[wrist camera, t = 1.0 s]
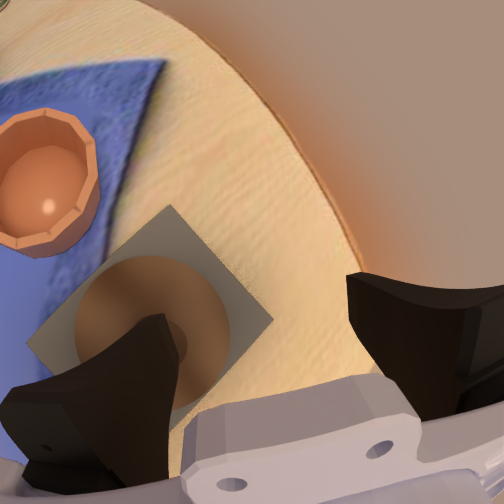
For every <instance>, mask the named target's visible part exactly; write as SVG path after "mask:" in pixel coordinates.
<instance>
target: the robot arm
mask: <svg viewBox="0 0 504 504" xmlns="http://www.w3.org/2000/svg"><path fill="white" fill-rule="evenodd" d="M346 282H347V296H348V313H349V322H350V324H351V326H352V328H353V330H354V332H355V334H356V335H357V337H358V339H359V340H360V342H361V343H362V345H363V346H364V347H365V349H366V350H367V352H368V353H369V354H370V356H371V357H372V358H373V360H374V361H375V362H376V364H377V365H378V367H379V368H380V369H381V371H382V372H383V374H384V375H385V376H383V375H381V374H379V373H372V374H362V375H351V376H348V377H345V378H341V379H338V380H334V381H330V382H327V383H323V384H319V385H315V386H311V387H307V388H303V389H299V390H295V391H290V392H286V393H281V394H276V395H272V396H267V397H262V398H256V399H251V400H245V401H240V402H234V403H227V404H223V405H220V406H217V407H215V408H212V409H209V410H206V411H203V412H200V413H198V414H197V415H196V416H195V417H194V418H193V419H192V421H191V422H190V423H189V424H188V425H187V426H186V427H185V429H184V439H183V449H182V460H181V471H180V476H178V477H174V478H170V479H169V470H168V442H169V424H170V417H171V412H172V406H173V401H174V396H175V391H176V386H177V380H178V373H179V354H178V351H177V348H176V346H175V343H174V340H173V337H172V334H171V331H170V328H169V326H168V323H167V320H166V317H165V314H164V313H160V314H154V315H149V316H148V317H146V318H144V319H143V320H142V321H140V322H139V323H138V324H137V325H135V326H134V327H133V328H132V329H130V330H129V331H128V332H127V333H126V334H124V335H123V336H122V337H121V338H119V339H118V340H117V341H115V342H114V343H113V344H111V345H110V346H109V347H107V348H106V349H105V350H103V351H102V352H100V353H99V354H97V355H96V356H94V357H92V358H91V359H89V360H87V361H86V362H84V363H82V364H80V365H78V366H76V367H74V368H72V369H70V370H68V371H66V372H63V373H61V374H58V375H56V376H53V377H50V378H48V379H45V380H42V381H38V382H35V383H31V384H26V385H22V386H18V387H14V388H12V389H11V390H10V392H9V393H8V394H7V396H6V397H5V398H4V400H3V401H2V403H1V404H0V421H1V424H2V426H3V428H4V429H5V431H6V432H7V434H8V435H9V436H10V438H11V439H12V440H13V441H14V443H15V444H16V445H17V446H18V448H19V449H20V450H21V451H22V452H23V453H24V455H25V456H26V457H27V458H28V459H29V461H28V463H27V465H26V466H24V465H22V464H21V463H19V462H17V461H12V460H9V459H5V458H1V457H0V504H494V503H493V501H492V499H493V498H494V497H496V496H497V495H498V494H500V493H501V492H502V491H503V490H504V285H500V286H495V287H489V288H477V289H443V288H433V287H426V286H419V285H415V284H409V283H405V282H401V281H397V280H393V279H389V278H385V277H381V276H378V275H374V274H370V273H365V272H358V273H354V274H350V275H346Z"/></svg>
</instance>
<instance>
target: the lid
mask: <svg viewBox="0 0 504 504" xmlns="http://www.w3.org/2000/svg"><path fill="white" fill-rule="evenodd" d="M160 313H164V314H165V317H166V320H167V323H168V326H169V328H170V331H171V334H172V337H173V340H174V343H175V346H176V348H177V351H178V354H179V373H178V380H177V386H176V391H175V396H174V401H173V406H172V410H176V409H179V408H182V407H184V406H187V405H189V404H191V403H192V402H194V401H196V400H197V399H199V398H200V397H201V396H203V395H204V394H205V393H206V392H207V391H208V390H209V389H210V388H211V387H212V386H213V384H214V383H215V382H216V380H217V379H218V377H219V376H220V374H221V372H222V370H223V368H224V366H225V363H226V360H227V357H228V352H229V347H230V326H229V321H228V316H227V313H226V310H225V307H224V305H223V303H222V301H221V299H220V297H219V295H218V294H217V292H216V290H215V289H214V288H213V287H212V285H211V284H210V283H209V282H208V281H207V280H206V279H205V278H204V277H203V276H202V275H201V274H200V273H198V272H197V271H196V270H194V269H193V268H191V267H189V266H187V265H186V264H184V263H181V262H179V261H176V260H173V259H170V258H166V257H159V256H141V257H134V258H130V259H127V260H124V261H121V262H119V263H117V264H115V265H113V266H111V267H110V268H108V269H106V270H105V271H104V272H103V273H101V274H100V275H99V276H98V277H97V278H96V279H95V280H94V281H93V282H92V283H91V285H90V286H89V288H88V289H87V291H86V292H85V294H84V296H83V298H82V300H81V302H80V304H79V307H78V311H77V314H76V320H75V333H74V334H75V345H76V349H77V353H78V357H79V359H80V362H81V364H82V363H84V362H86V361H87V360H89V359H91V358H92V357H94V356H96V355H97V354H99V353H100V352H102V351H103V350H105V349H106V348H107V347H109V346H110V345H111V344H113V343H114V342H115V341H117V340H118V339H119V338H121V337H122V336H123V335H124V334H126V333H127V332H128V331H129V330H130V329H132V328H133V327H134V326H135V325H137V324H138V323H139V322H140V321H142V320H143V319H144V318H146V317H148V316H149V315H154V314H160Z"/></svg>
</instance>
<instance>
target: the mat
mask: <svg viewBox="0 0 504 504" xmlns="http://www.w3.org/2000/svg"><path fill="white" fill-rule="evenodd" d="M141 256H159V257H166V258H170V259H173V260H176V261H179V262H181V263H184V264H186V265H187V266H189V267H191V268H193V269H194V270H196V271H197V272H198V273H200V274H201V275H202V276H203V277H204V278H205V279H206V280H207V281H208V282H209V283H210V284H211V285H212V287H213V288H214V289H215V290H216V292H217V294H218V295H219V297H220V299H221V301H222V303H223V305H224V307H225V310H226V313H227V316H228V321H229V326H230V347H229V352H228V357H227V360H226V363H225V366H224V368H223V370H222V372H221V374H220V376H219V377H218V379H217V380H216V382H215V383H214V384H213V386H212V387H211V388H210V389H209V390H208V391H207V392H206V393H205V394H204V395H203V396H201V397H200V398H199V399H197V400H196V401H194V402H192V403H191V404H189V405H187V406H184V407H182V408H179V409H176V410H172V412H171V417H170V424H169V432H170V431H171V430H172V429H173V428H174V427H175V426H176V425H177V424H178V423H179V422H180V421H181V420H182V419H183V418H184V417H185V416H186V415H187V414H188V413H189V412H190V411H191V410H192V409H193V408H194V407H195V406H196V404H197V403H198V402H199V401H200V400H201V399H202V398H203V397H204V396H205V395H206V394H207V393H208V392H209V391H210V390H211V389H212V388H213V387H214V386H215V384H216V383H217V382H218V381H219V380H220V379H221V378H222V377H223V376H224V375H225V374H226V373H227V371H228V370H229V369H230V368H231V367H232V366H233V365H234V364H235V363H236V362H237V361H238V359H239V358H240V357H241V356H242V355H243V354H244V353H245V352H246V351H247V349H248V348H249V347H250V346H251V345H252V344H253V343H254V342H255V340H256V339H257V338H258V337H259V336H260V335H261V334H262V332H263V331H264V330H265V329H266V328H267V327H268V326H269V324H270V323H271V322H272V321H273V320H274V319H273V318H272V317H271V316H270V315H269V314H268V312H267V311H266V310H265V309H264V308H263V307H262V306H261V305H260V304H259V303H258V302H257V301H256V299H255V298H254V297H253V296H252V295H251V294H250V293H249V292H248V291H247V290H246V289H245V287H244V286H243V285H242V284H241V283H240V282H239V281H238V280H237V279H236V278H235V276H234V275H233V274H232V273H231V272H230V271H229V270H228V269H227V268H226V267H225V265H224V264H223V263H222V262H221V261H220V260H219V259H218V258H217V257H216V255H215V254H214V253H213V252H212V251H211V250H210V249H209V248H208V247H207V245H206V244H205V243H204V242H203V241H202V240H201V239H200V238H199V236H198V235H197V234H196V233H195V232H194V231H193V230H192V228H191V227H190V226H189V225H188V224H187V223H186V222H185V221H184V219H183V218H182V217H181V216H180V215H179V214H178V213H177V211H176V210H175V209H174V208H173V207H172V206H171V205H169V206H167V207H166V208H165V209H164V210H163V211H161V212H160V213H159V214H158V215H157V216H156V217H154V218H153V219H152V220H151V221H150V222H149V223H147V224H146V225H145V226H144V227H143V228H142V229H141V230H139V231H138V232H137V233H136V234H135V235H134V236H133V237H131V238H130V239H129V240H128V241H127V242H126V243H125V244H124V245H123V246H122V247H120V248H119V249H118V250H117V251H116V252H115V253H114V254H113V255H112V256H111V257H110V258H108V259H107V260H106V261H105V262H104V263H103V264H102V265H101V266H100V267H99V268H98V269H97V270H96V271H95V272H94V273H93V274H92V275H91V276H90V277H89V278H87V279H86V280H85V281H84V282H83V283H82V284H81V285H80V286H79V287H78V288H77V289H76V290H75V291H74V292H73V293H72V294H71V295H70V296H69V297H68V298H67V299H66V300H65V301H64V302H63V303H62V305H61V306H60V307H59V308H58V309H57V310H56V311H55V312H54V313H53V314H52V315H51V316H50V317H49V318H48V319H47V320H46V321H45V322H44V323H43V325H42V326H41V327H40V328H39V329H38V330H37V331H36V332H35V333H34V334H33V335H32V337H31V338H30V339H29V340H28V341H27V342H26V344H27V346H28V347H29V348H30V349H31V350H32V351H33V353H34V354H35V355H36V356H37V357H38V358H39V359H40V360H41V362H42V363H43V364H44V365H45V366H46V367H47V368H48V369H49V370H50V371H51V372H52V373H53V374H54V376H56V375H58V374H61V373H63V372H66V371H68V370H70V369H72V368H74V367H76V366H78V365H80V364H81V362H80V359H79V357H78V353H77V349H76V345H75V334H74V333H75V320H76V314H77V311H78V307H79V304H80V302H81V300H82V298H83V296H84V294H85V292H86V291H87V289H88V288H89V286H90V285H91V283H92V282H93V281H94V280H95V279H96V278H97V277H98V276H99V275H100V274H101V273H103V272H104V271H105V270H106V269H108V268H110V267H111V266H113V265H115V264H117V263H119V262H121V261H124V260H127V259H130V258H134V257H141Z"/></svg>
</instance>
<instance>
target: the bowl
mask: <svg viewBox="0 0 504 504" xmlns="http://www.w3.org/2000/svg"><path fill="white" fill-rule="evenodd" d="M100 199H101V194H100V187H99V178H98V169H97V159H96V149H95V140H94V139H93V138H92V136H91V135H90V134H89V133H88V131H87V130H86V129H85V127H84V126H83V125H82V124H81V122H80V121H79V120H78V119H77V117H76V116H73V115H70V114H67V113H64V112H60V111H57V110H53V109H50V108H47V107H46V108H41V109H37V110H33V111H29V112H25V113H21V114H17V115H14V116H13V117H11V118H10V119H9V120H8V121H6V122H5V123H4V124H3V125H1V126H0V244H1V245H3V246H5V247H7V248H9V249H12V250H14V251H16V252H19V253H21V254H23V255H26V256H29V257H31V258H34V259H36V258H45V257H51V256H54V255H58V254H60V253H62V252H65V251H66V250H68V249H69V248H71V247H72V246H74V245H75V244H76V243H77V242H78V241H79V240H80V239H81V238H82V237H83V236H84V235H85V233H86V232H87V231H88V230H89V228H90V226H91V224H92V222H93V220H94V218H95V216H96V212H97V209H98V205H99V202H100Z"/></svg>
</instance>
